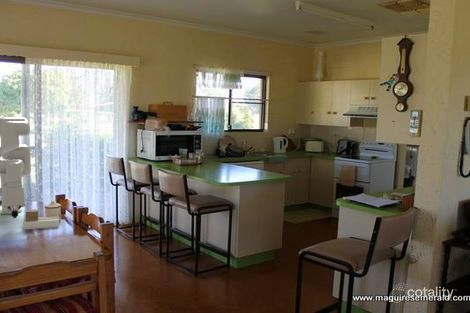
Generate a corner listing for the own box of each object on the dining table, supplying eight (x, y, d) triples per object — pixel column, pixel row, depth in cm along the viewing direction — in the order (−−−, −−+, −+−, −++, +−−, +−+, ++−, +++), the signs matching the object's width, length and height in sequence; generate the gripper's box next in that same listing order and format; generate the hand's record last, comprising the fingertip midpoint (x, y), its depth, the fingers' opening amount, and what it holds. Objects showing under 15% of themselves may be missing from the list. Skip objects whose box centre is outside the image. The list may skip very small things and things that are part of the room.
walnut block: (26, 223, 236) (26, 209, 235) (38, 223, 238) (38, 209, 237) (26, 226, 231) (25, 211, 230) (38, 225, 234) (37, 211, 233)
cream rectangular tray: (23, 225, 237) (23, 218, 236) (58, 223, 244) (58, 216, 244) (22, 229, 229) (22, 222, 229) (58, 226, 237) (58, 219, 236)
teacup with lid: (63, 221, 249) (62, 201, 247) (46, 223, 243) (46, 203, 242) (58, 216, 258) (58, 197, 257) (42, 218, 253) (41, 199, 252)
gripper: (-3, 186, 222) (-2, 220, 224) (29, 185, 228) (29, 218, 230) (-1, 184, 229) (0, 217, 231) (29, 182, 235) (30, 215, 237)
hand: (14, 217), depth 230 cm, fingers closed
